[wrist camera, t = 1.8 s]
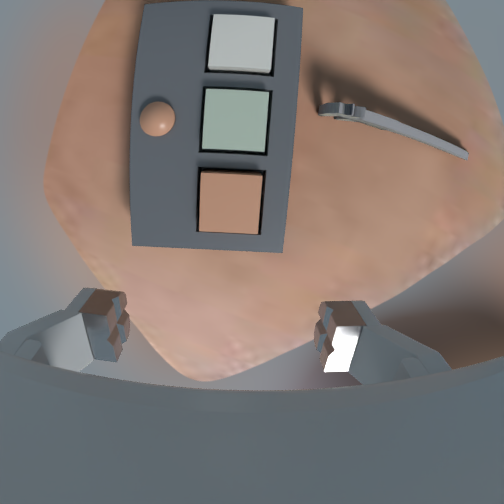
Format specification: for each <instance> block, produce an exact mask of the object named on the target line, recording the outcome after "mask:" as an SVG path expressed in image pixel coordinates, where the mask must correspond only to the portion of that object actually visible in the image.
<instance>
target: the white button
mask: <svg viewBox="0 0 504 504" xmlns="http://www.w3.org/2000/svg"><path fill="white" fill-rule="evenodd" d="M274 21H275V18H270V17H260V16H247V15H226V14H214V16H213V25H212V33H211V42H210V52H209V62H208V67H209V69H210V72H211V73H228V74H246V75H259V76H268V74H269V72H270V70H271V61H272V48H273V35H274Z"/></svg>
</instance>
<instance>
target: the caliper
mask: <svg viewBox="0 0 504 504" xmlns="http://www.w3.org/2000/svg"><path fill="white" fill-rule="evenodd" d="M318 115H319V116H334V119H337V120H344V121H354V122H360V123H364V124H366V125H369V126H372V127H376V128H378V129H381V130H388V131H391V132H394V133H397V134H400V135H403V136H406V137H408V138H411V139H414V140H417V141H419V142H422V143H425V144H427V145H430V146H432V147H435V148H437V149H440V150H442V151H445V152H447V153H449V154H452V155H454V156H457V157H459V158H462V159H464V160H468V152H467V151H465V150H463V149H461V148H459V147H457V146H455V145H453V144H451V143H448V142H446V141H444V140H442V139H439V138H437V137H435V136H433V135H430V134H428V133H425V132H423V131H420V130H418V129H416V128H413V127H410V126H408V125H405V124H403V123H400V122H399V121H397V120H394V119H391V118H388V117H386V116H383V115H380V114H377V113H374V112H371V111H368V110H366V107H359V106H355V104H344V103H341V102H337V103H326V104H323V105H320V106H319V112H318Z"/></svg>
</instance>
